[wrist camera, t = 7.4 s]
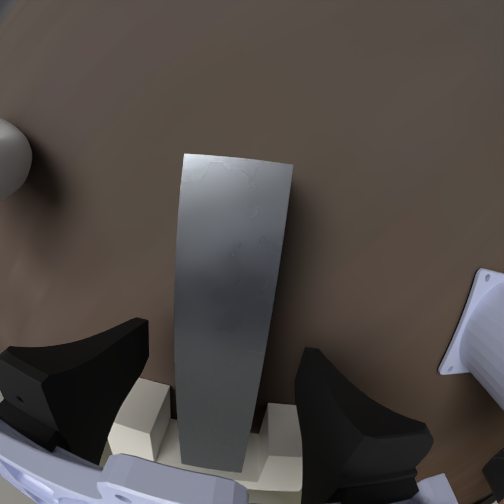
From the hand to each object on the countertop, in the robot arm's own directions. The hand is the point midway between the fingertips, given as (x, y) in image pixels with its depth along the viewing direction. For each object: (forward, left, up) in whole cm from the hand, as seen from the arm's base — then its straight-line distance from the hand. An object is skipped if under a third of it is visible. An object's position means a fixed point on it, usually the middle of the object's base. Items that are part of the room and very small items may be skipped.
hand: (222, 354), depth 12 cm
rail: (0, 0, -4) cm, 4 cm away
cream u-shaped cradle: (0, +8, -3) cm, 8 cm away
